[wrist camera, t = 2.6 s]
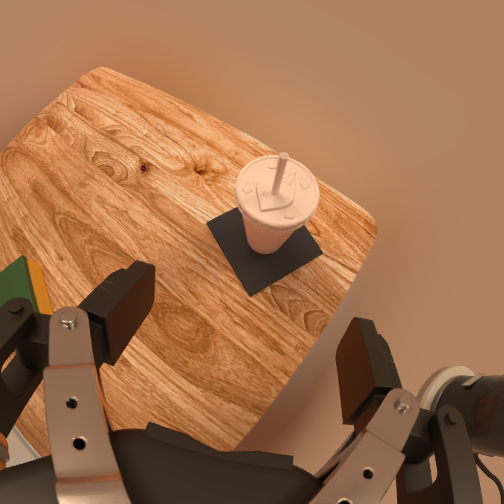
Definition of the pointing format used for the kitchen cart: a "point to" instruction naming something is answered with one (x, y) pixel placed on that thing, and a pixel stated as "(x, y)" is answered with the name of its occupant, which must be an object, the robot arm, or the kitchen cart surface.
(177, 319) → the kitchen cart surface
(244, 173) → the smoothie
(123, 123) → the kitchen cart surface
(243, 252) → the cloth
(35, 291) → the scrubber
